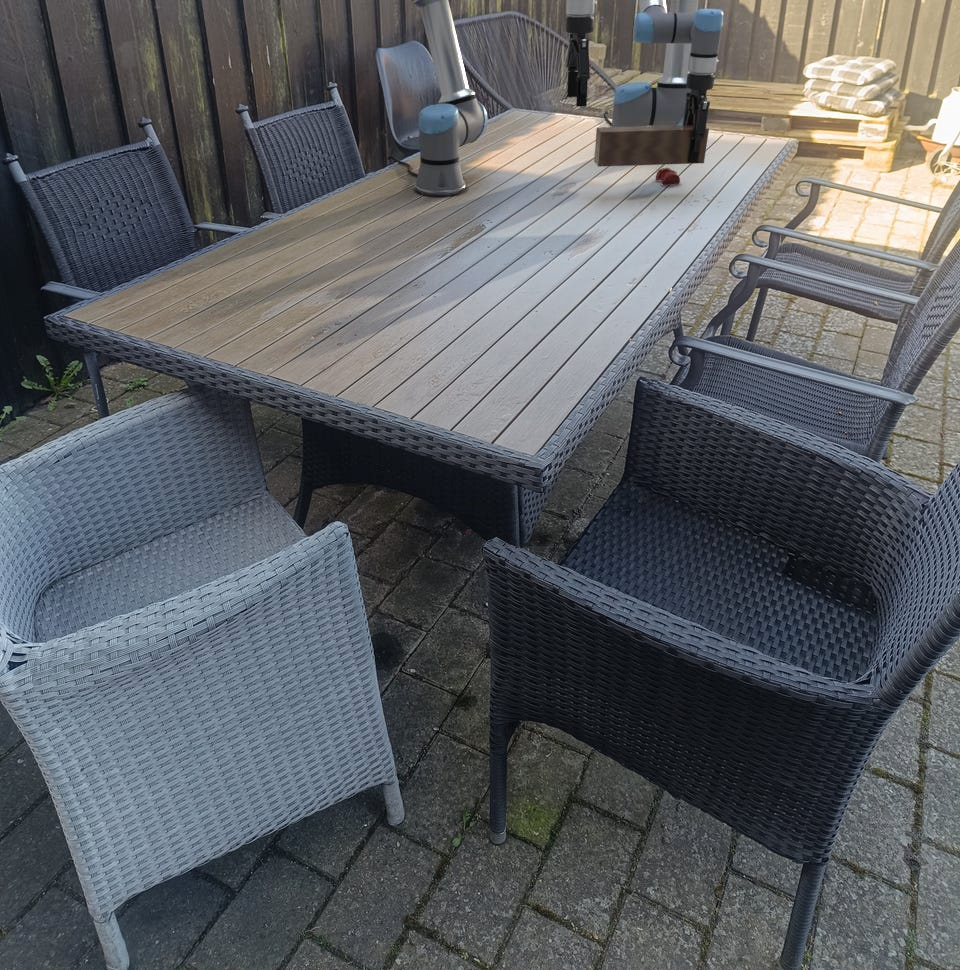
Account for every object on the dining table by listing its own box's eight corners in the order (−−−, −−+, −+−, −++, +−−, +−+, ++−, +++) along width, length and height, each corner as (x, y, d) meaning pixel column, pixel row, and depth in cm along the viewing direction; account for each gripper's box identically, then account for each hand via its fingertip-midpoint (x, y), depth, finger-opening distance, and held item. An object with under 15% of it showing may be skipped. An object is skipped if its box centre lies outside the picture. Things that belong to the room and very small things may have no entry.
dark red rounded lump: (671, 164, 266) (682, 171, 259) (670, 177, 268) (681, 185, 262) (654, 166, 265) (665, 173, 258) (653, 179, 267) (664, 187, 261)
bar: (598, 166, 243) (600, 132, 238) (594, 161, 248) (596, 127, 242) (704, 163, 246) (709, 128, 240) (698, 158, 250) (702, 124, 245)
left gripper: (604, 20, 215) (599, 109, 227) (584, 10, 235) (581, 92, 248) (575, 21, 215) (571, 110, 227) (558, 11, 235) (555, 93, 247)
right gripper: (725, 79, 227) (712, 167, 240) (703, 66, 242) (691, 150, 255) (698, 79, 226) (686, 168, 240) (678, 67, 241) (667, 151, 255)
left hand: (576, 101), depth 237 cm, fingers open, 13 cm apart
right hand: (689, 159), depth 248 cm, fingers closed on bar, 5 cm apart
